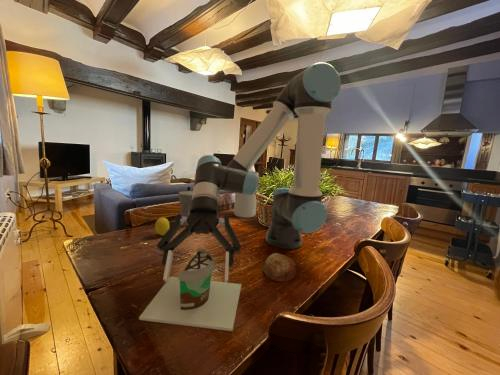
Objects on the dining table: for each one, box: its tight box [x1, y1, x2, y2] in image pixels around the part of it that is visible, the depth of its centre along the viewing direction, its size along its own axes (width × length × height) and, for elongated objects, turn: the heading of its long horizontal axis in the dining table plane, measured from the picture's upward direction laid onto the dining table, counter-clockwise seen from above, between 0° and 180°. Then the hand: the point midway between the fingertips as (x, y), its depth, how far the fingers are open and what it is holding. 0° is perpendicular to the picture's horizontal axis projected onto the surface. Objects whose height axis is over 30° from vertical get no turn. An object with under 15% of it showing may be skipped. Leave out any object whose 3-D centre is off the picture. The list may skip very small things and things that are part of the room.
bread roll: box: [262, 252, 298, 282], centre depth 71 cm, size 10×10×8 cm
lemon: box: [154, 216, 171, 237], centre depth 93 cm, size 6×6×8 cm
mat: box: [138, 276, 242, 332], centre depth 56 cm, size 20×16×1 cm
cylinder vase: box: [233, 170, 260, 219], centre depth 130 cm, size 12×12×25 cm
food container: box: [178, 248, 216, 310], centre depth 55 cm, size 12×6×10 cm, turn 174°
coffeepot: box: [177, 186, 193, 227], centre depth 109 cm, size 15×9×18 cm, turn 59°
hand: (196, 281), depth 52 cm, fingers open, 13 cm apart
